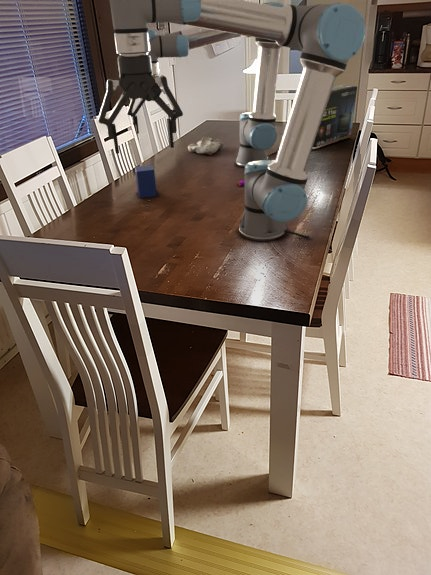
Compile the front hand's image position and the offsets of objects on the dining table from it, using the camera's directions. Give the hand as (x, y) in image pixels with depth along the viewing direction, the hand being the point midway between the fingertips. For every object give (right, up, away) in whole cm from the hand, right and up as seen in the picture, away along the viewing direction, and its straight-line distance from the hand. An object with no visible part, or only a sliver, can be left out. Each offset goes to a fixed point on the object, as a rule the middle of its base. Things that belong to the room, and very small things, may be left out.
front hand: (144, 149), depth 115 cm
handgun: (+33, +5, +70) cm, 77 cm away
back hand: (-8, +30, +74) cm, 80 cm away
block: (-10, +3, +71) cm, 71 cm away
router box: (+76, +43, +130) cm, 157 cm away
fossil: (+12, +36, +124) cm, 130 cm away
